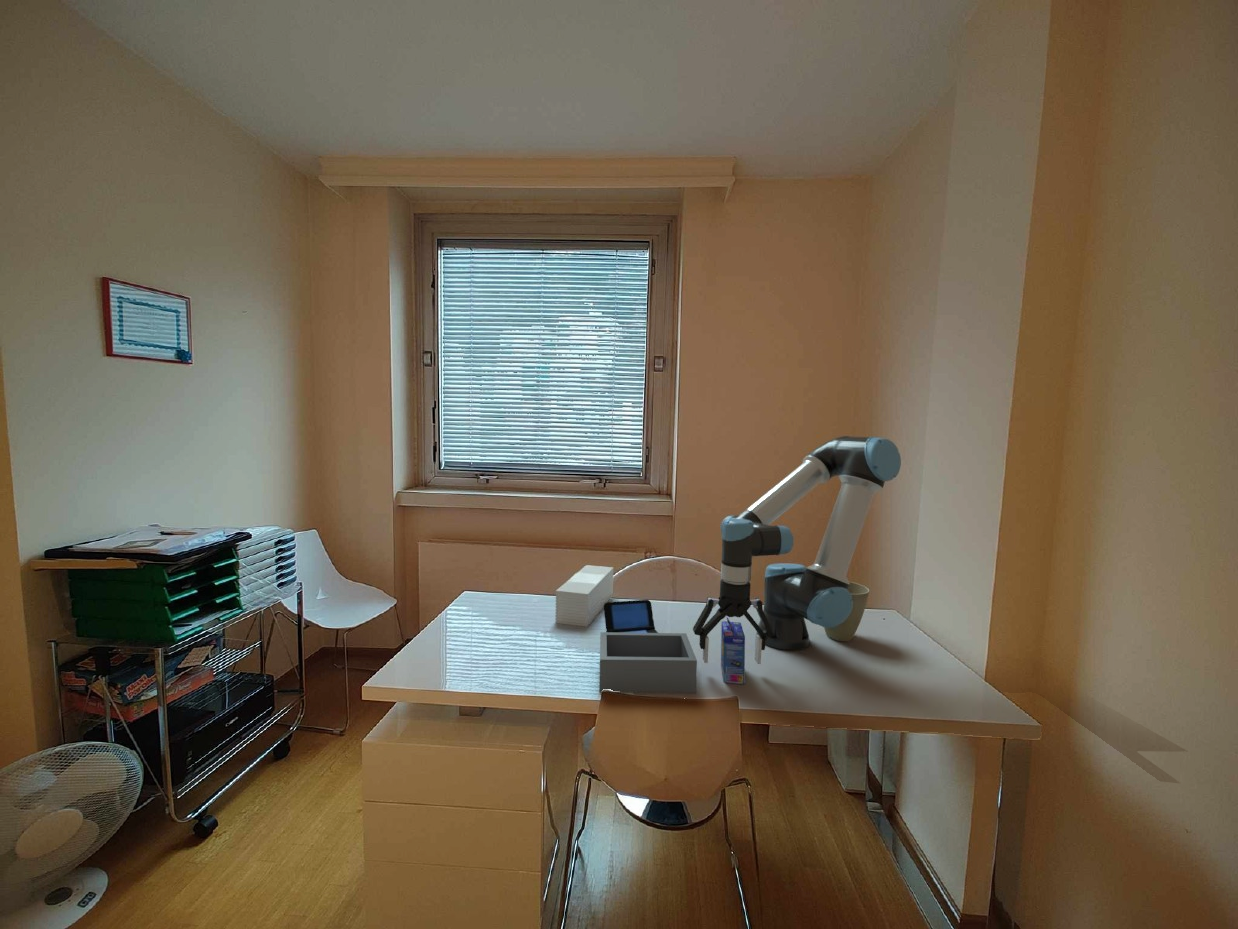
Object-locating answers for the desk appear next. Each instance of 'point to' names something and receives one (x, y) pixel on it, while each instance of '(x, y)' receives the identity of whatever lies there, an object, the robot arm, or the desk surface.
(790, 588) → the robot arm
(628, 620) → the handheld game console
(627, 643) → the collection bin
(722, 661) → the ink cartridge box
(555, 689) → the desk surface
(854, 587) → the plant pot
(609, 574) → the stack of papers
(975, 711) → the desk surface
